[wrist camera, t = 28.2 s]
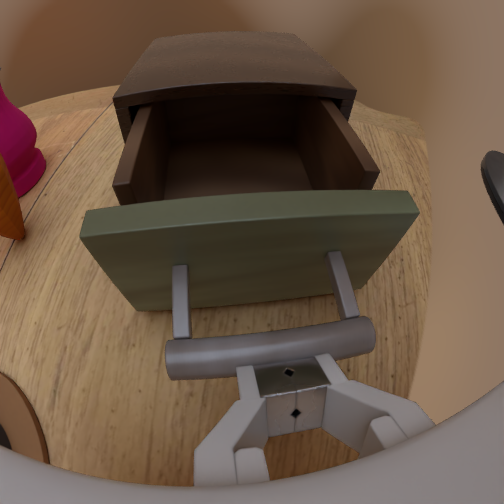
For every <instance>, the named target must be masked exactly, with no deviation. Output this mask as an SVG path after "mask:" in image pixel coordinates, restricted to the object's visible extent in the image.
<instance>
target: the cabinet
mask: <svg viewBox="0 0 504 504" xmlns="http://www.w3.org/2000/svg"><path fill="white" fill-rule="evenodd" d="M356 92H357V90H356V88H355V87H354V86H353V85H352V84H351V83H350V82H349V81H348V80H347V79H345V78H344V76H342V75H341V74H340V73H339V72H338V71H337V70H336V69H335V68H334V67H333V66H332V65H331V64H330V63H328V62H327V61H326V60H325V59H324V58H323V57H322V56H320V55H319V54H318V53H317V52H316V51H314V50H313V49H312V48H311V47H310V46H309V45H307V44H306V43H305V42H304V41H302V40H301V39H300V38H298V37H297V36H296V35H295V34H289V33H276V32H250V31H249V32H247V31H244V32H243V31H239V32H238V31H236V32H235V31H234V32H209V33H195V34H185V35H177V36H169V37H163V38H157V39H154V41H153V42H152V43H151V44H150V46H149V47H148V48H147V49H146V51H145V52H144V53H143V54H142V56H141V57H140V58H139V60H138V61H137V63H136V64H135V65H134V67H133V68H132V69H131V71H130V72H129V74H128V75H127V76H126V78H125V79H124V81H123V82H122V84H121V85H120V87H119V88H118V90H117V91H116V93H115V95H114V96H113V102H114V106H115V109H116V114H117V118H118V121H119V125H120V129H121V132H122V136H123V139H124V143H125V144H126V141H127V138H128V135H129V133H130V130H131V127H132V125H133V122H134V120H135V117H136V115H137V112H138V110H139V107H140V105H141V104H145V103H151V102H158V101H165V100H172V99H181V98H190V97H201V96H214V95H235V94H284V95H304V96H318V97H329V98H330V99H331V100H332V102H333V103H334V104H335V106H336V107H337V108H338V109H339V111H340V112H341V113H342V115H343V116H344V118H345V119H346V120H347V122H348V120H349V116H350V113H351V110H352V106H353V103H354V101H353V100H354V99H355V96H356Z"/></svg>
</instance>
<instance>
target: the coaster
mask: <svg viewBox="0 0 504 504" xmlns="http://www.w3.org/2000/svg"><path fill="white" fill-rule="evenodd" d="M0 424H1V425H2V427H3V428H4V430H5V432H6V434H7V436H8V439H9V441H10V444H11V448H12V451H15V452H17V453H19V454H22V455H24V456H27V457H30V458H32V459H35V460H38V461H41V462H43V463H46V464H49V458H48V453H47V448H46V444H45V440H44V436H43V433H42V430H41V427H40V425H39V422H38V420H37V417H36V415H35V413H34V411H33V409H32V407H31V405H30V403H29V402H28V400H27V398H26V397H25V395H24V394H23V392H22V391H21V390H20V388H19V387H18V386H17V385H16V384H15V383H14V382H13V381H12V380H11V379H10V378H9V377H7V376H6V375H4V374H3V373H1V372H0Z"/></svg>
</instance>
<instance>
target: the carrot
mask: <svg viewBox="0 0 504 504" xmlns="http://www.w3.org/2000/svg"><path fill="white" fill-rule="evenodd" d="M24 234H25V229H24V224H23V218H22V212H21V208H20V204H19V200H18V196H17V193H16V191H15V188H14V185H13V182H12V180H11V177H10V174H9V172H8V169H7V166H6V164H5V162H4V159H3V157H2V155H1V153H0V236H3V237H7V238H11V239H15V240H20V239H23V238H24Z"/></svg>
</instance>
